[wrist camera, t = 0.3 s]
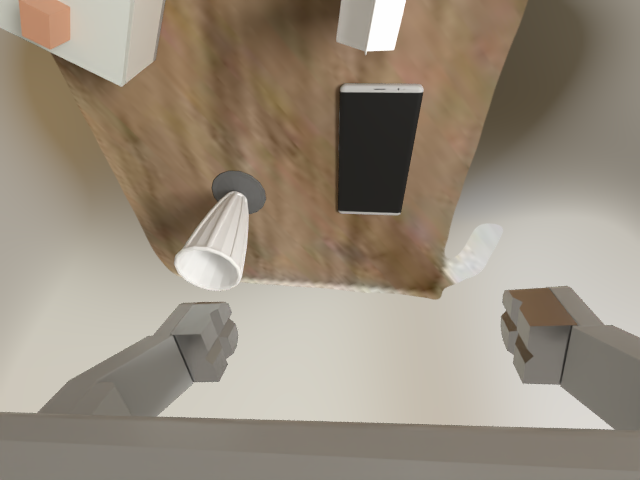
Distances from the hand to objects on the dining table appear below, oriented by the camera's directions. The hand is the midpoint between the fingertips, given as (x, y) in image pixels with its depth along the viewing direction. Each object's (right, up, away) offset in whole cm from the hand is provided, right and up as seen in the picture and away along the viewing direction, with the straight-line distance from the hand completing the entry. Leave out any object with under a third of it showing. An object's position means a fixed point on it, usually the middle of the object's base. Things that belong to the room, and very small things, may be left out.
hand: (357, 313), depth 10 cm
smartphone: (+9, +18, +55) cm, 58 cm away
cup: (-18, +12, +63) cm, 67 cm away
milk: (+5, +37, +36) cm, 52 cm away
